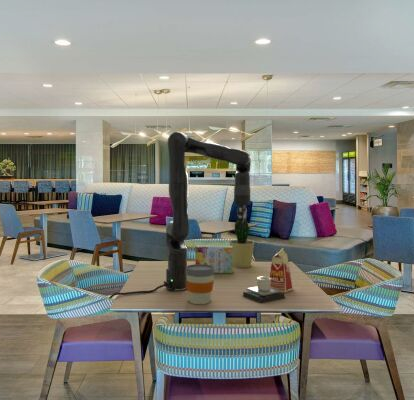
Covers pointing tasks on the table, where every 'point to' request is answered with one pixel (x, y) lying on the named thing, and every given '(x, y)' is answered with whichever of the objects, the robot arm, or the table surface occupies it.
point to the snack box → (215, 257)
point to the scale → (263, 298)
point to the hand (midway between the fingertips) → (241, 228)
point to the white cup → (264, 283)
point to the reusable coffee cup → (199, 283)
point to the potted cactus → (242, 247)
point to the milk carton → (280, 272)
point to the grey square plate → (256, 290)
